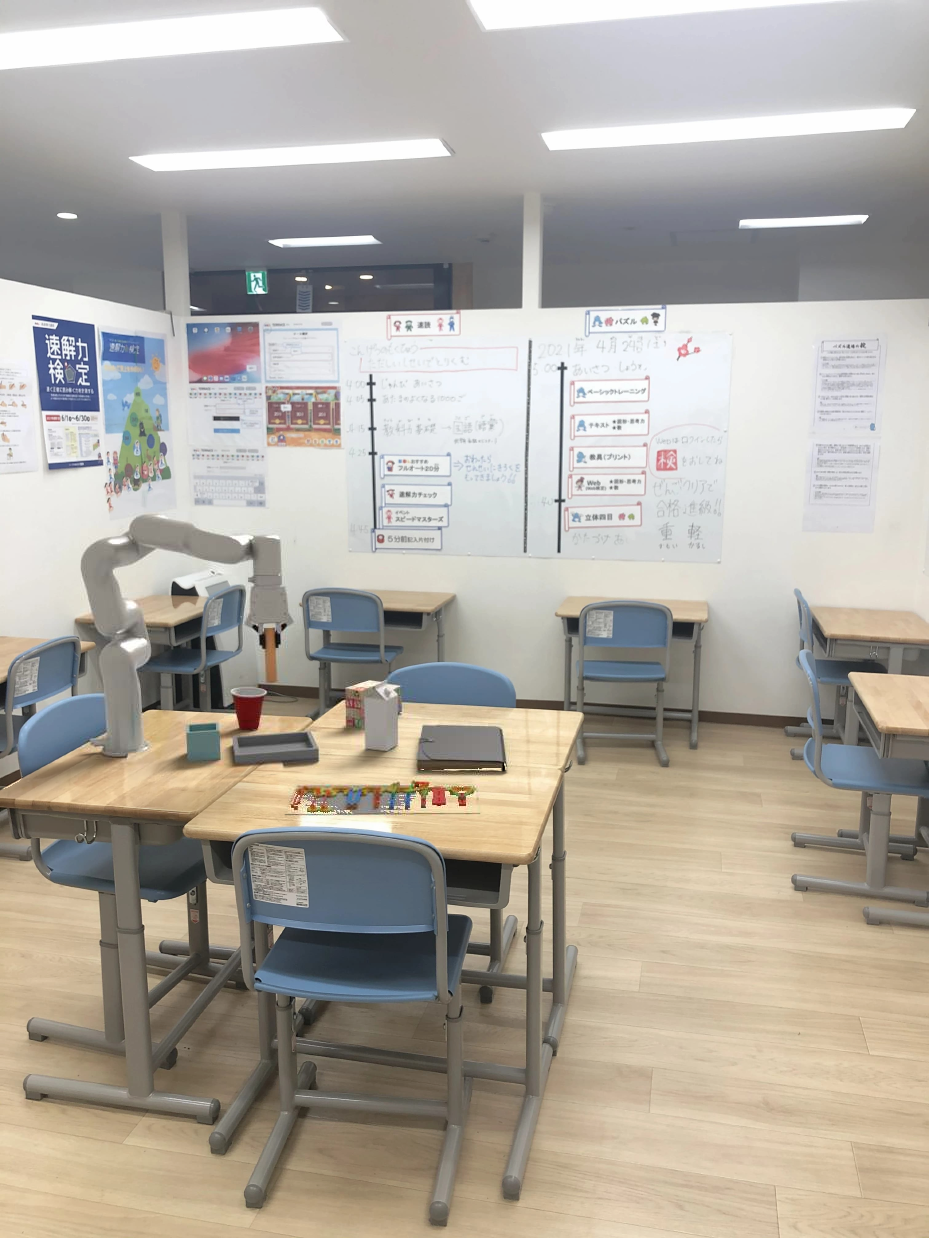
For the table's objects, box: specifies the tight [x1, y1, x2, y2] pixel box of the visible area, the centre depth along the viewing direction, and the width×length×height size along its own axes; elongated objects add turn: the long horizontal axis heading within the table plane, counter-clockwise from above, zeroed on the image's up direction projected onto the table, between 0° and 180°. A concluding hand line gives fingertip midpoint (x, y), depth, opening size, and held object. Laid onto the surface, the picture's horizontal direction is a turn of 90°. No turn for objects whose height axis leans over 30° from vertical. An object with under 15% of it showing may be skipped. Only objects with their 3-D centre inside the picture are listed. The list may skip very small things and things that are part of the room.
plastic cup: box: [230, 686, 267, 731], centre depth 281 cm, size 11×11×12 cm
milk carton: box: [364, 679, 399, 752], centre depth 262 cm, size 7×7×19 cm
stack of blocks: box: [344, 680, 403, 729], centre depth 292 cm, size 21×6×12 cm, turn 148°
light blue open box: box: [185, 721, 222, 763], centre depth 251 cm, size 9×9×9 cm
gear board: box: [290, 780, 478, 815], centre depth 222 cm, size 45×2×19 cm
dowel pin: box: [263, 626, 278, 684], centre depth 252 cm, size 3×3×15 cm
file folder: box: [416, 724, 508, 771], centre depth 259 cm, size 33×4×24 cm
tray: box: [231, 730, 320, 766], centre depth 256 cm, size 22×18×4 cm
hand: (270, 647), depth 251 cm, fingers closed on dowel pin, 3 cm apart
